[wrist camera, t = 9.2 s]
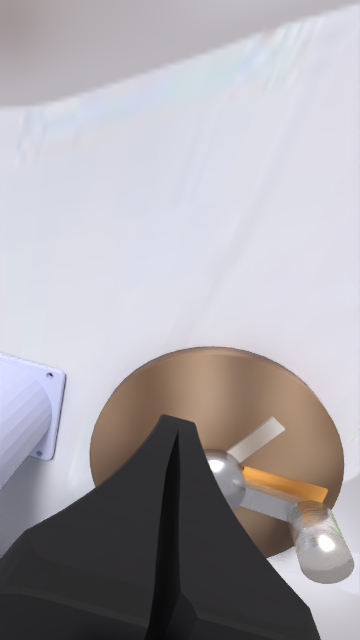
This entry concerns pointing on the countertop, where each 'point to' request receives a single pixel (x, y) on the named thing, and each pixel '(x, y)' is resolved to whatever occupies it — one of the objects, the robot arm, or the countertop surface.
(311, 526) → the silver dumbbell
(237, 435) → the dial plate
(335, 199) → the countertop surface
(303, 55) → the countertop surface
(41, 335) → the countertop surface
